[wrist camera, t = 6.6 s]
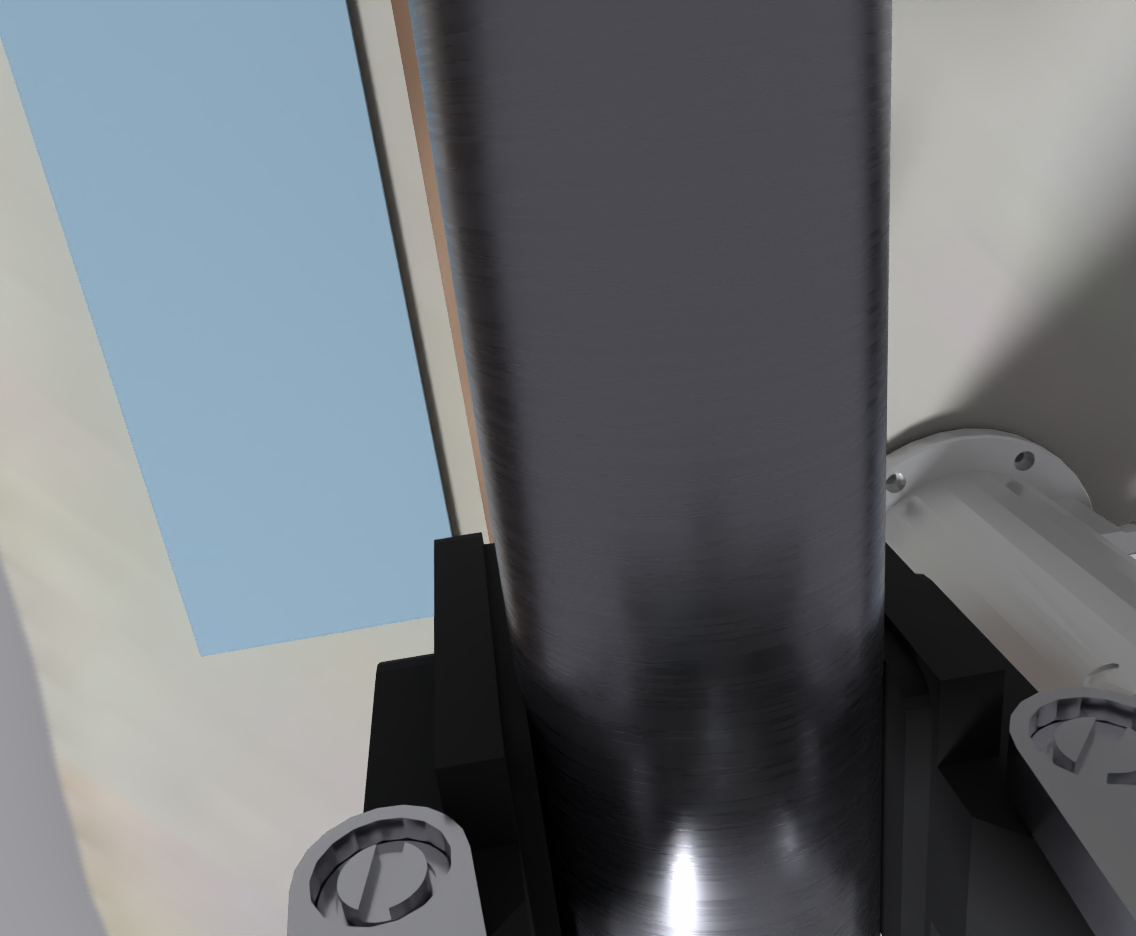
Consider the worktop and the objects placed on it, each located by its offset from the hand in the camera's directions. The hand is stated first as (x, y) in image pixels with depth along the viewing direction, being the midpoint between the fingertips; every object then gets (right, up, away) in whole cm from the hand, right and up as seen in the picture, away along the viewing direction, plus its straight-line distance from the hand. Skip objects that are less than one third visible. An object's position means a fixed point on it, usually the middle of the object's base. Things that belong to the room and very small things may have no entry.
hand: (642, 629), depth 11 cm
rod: (0, 0, -1) cm, 1 cm away
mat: (-13, +10, +24) cm, 29 cm away
